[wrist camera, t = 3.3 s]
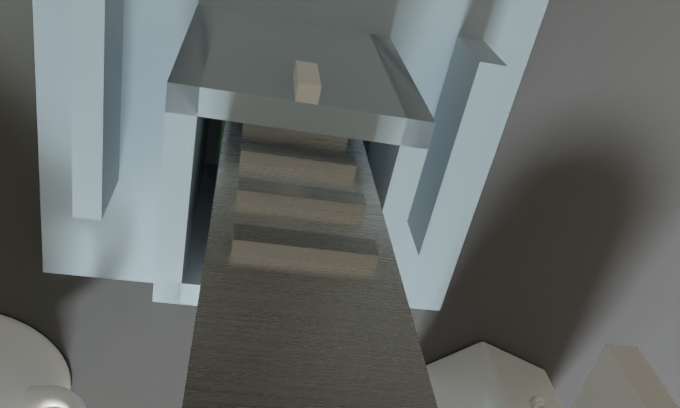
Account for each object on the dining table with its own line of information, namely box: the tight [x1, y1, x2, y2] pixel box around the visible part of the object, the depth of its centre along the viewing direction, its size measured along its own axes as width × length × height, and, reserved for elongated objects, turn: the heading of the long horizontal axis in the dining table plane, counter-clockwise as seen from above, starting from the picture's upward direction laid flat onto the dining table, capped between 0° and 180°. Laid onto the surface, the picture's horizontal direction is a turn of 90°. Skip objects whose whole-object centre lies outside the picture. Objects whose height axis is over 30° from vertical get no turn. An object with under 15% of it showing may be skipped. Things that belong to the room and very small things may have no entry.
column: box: [182, 120, 438, 408], centre depth 16 cm, size 5×5×20 cm
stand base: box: [32, 0, 549, 311], centre depth 22 cm, size 18×18×9 cm
